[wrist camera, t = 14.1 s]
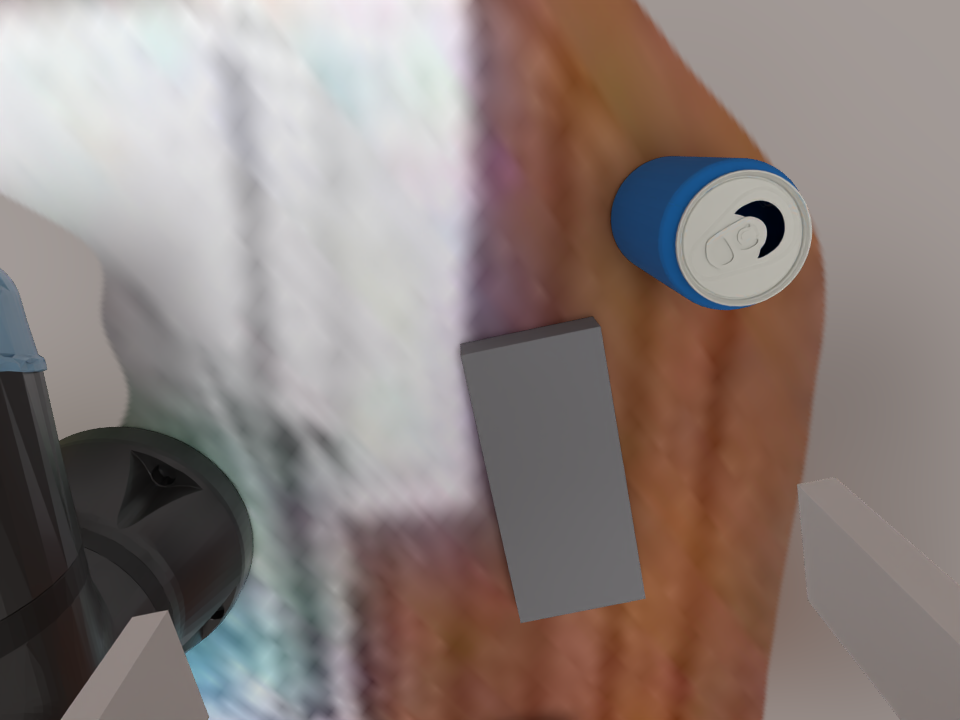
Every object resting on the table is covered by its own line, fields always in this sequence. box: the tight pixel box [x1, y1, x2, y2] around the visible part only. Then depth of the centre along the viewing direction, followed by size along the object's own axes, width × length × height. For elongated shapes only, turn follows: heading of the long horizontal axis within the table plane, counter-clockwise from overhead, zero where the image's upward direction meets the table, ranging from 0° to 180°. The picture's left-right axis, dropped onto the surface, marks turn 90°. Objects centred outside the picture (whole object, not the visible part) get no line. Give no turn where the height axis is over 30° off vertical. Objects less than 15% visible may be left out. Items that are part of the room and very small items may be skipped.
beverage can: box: [611, 156, 812, 310], centre depth 35 cm, size 6×6×12 cm
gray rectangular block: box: [461, 316, 645, 623], centre depth 44 cm, size 8×18×2 cm, turn 12°
